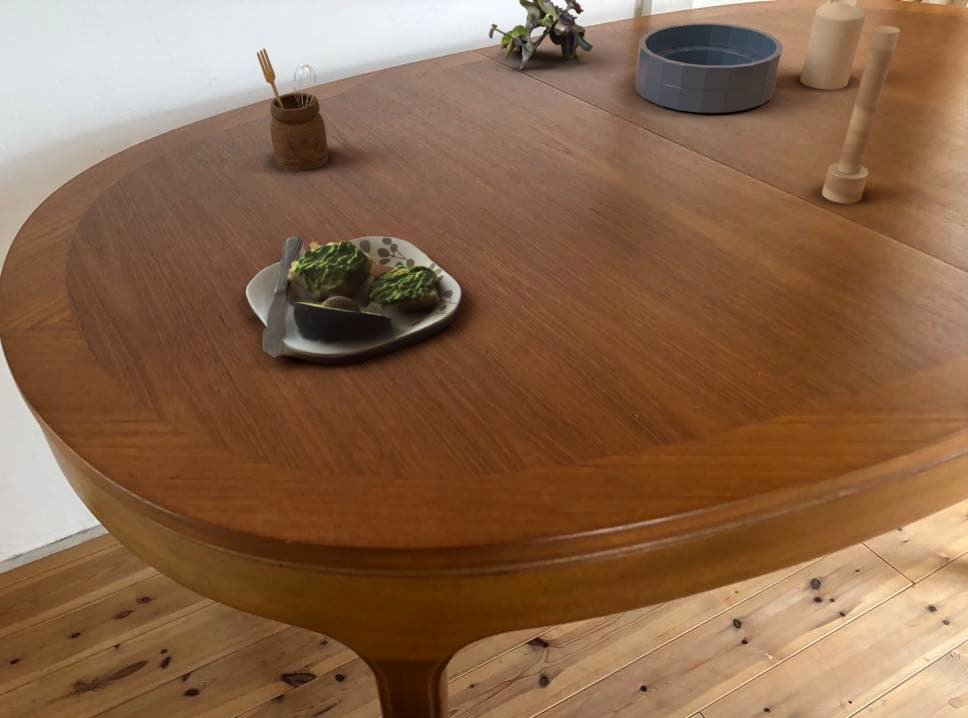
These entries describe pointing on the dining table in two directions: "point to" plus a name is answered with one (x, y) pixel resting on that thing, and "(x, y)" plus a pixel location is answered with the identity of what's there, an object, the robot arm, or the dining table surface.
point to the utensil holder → (295, 125)
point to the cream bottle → (833, 44)
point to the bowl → (707, 67)
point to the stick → (862, 121)
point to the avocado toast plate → (351, 300)
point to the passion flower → (546, 30)
